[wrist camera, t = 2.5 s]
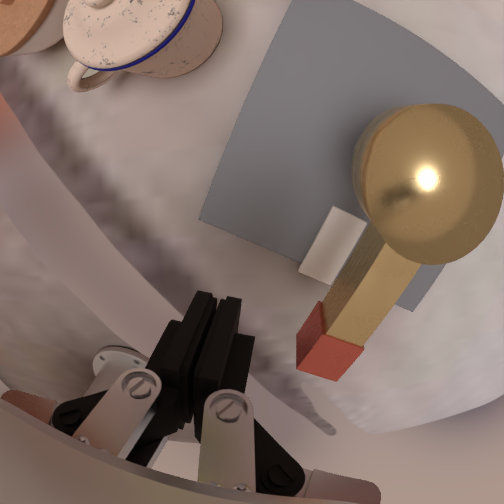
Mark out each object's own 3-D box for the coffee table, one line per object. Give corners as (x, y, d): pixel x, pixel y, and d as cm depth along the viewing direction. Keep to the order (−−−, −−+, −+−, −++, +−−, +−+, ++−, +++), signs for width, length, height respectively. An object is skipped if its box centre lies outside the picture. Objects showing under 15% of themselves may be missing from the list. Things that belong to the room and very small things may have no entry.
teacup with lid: (185, -28, 17) (124, -92, 6) (249, 33, 19) (216, -28, 9) (87, 60, 21) (-6, 52, 10) (138, 125, 23) (46, 141, 13)
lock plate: (410, 313, 28) (450, 402, 17) (199, 222, 26) (141, 298, 16) (515, 121, 18) (604, 142, 7) (302, -15, 17) (309, -99, 6)
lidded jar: (74, 69, 21) (3, 66, 13) (18, 50, 20) (-44, 50, 12) (125, -26, 17) (69, -61, 8) (59, -32, 16) (4, -51, 7)
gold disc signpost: (386, 78, 13) (411, 70, 9) (486, 151, 13) (522, 162, 10) (263, 320, 20) (258, 358, 16) (359, 355, 20) (367, 392, 17)
